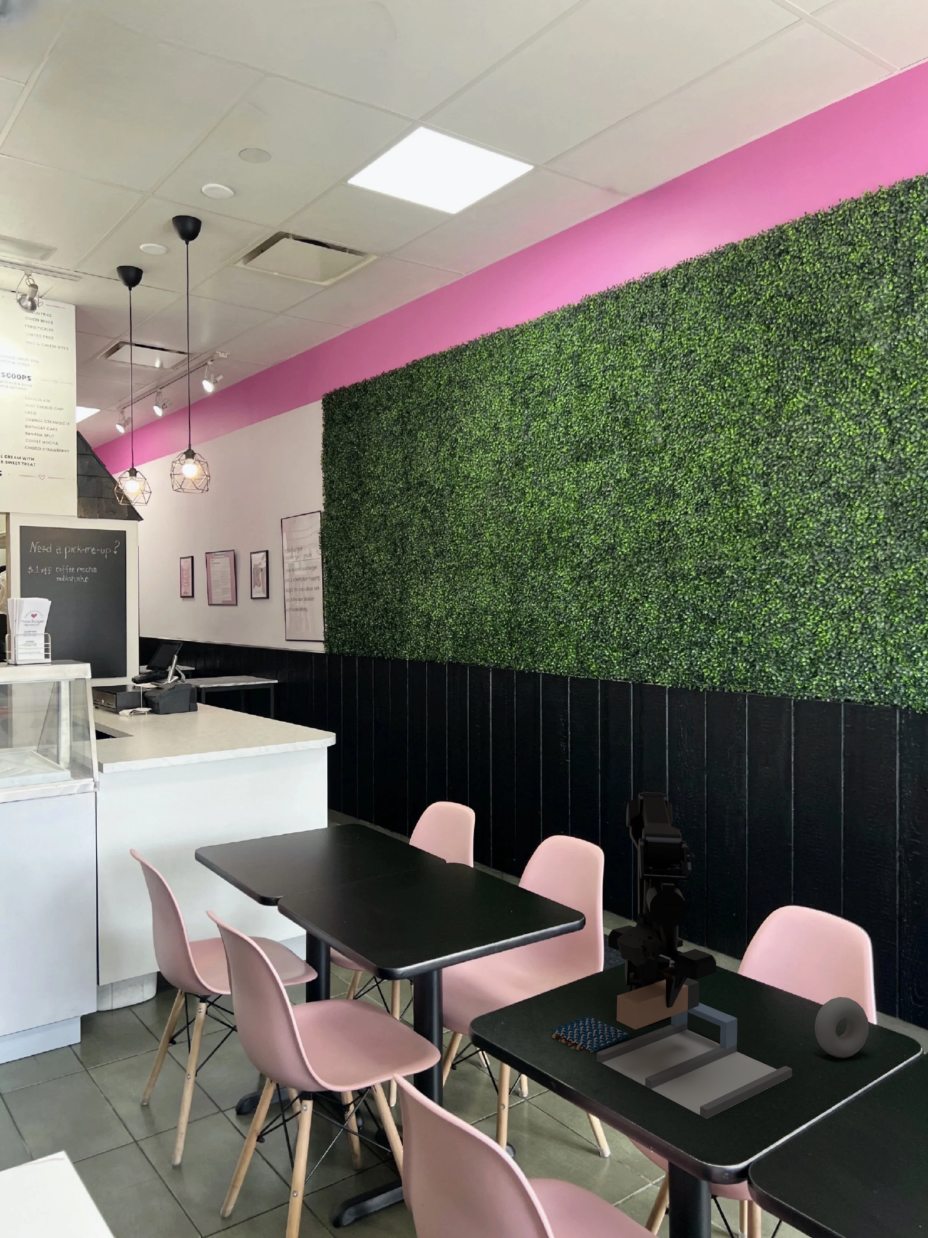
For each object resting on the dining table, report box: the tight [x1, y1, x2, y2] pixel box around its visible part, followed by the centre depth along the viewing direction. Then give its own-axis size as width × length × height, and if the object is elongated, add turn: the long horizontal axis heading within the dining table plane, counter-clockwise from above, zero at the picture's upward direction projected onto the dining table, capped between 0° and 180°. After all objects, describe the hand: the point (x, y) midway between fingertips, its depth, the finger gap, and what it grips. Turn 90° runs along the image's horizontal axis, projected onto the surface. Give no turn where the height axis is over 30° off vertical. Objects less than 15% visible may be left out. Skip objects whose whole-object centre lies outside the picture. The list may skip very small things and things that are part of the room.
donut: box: [814, 996, 870, 1059], centre depth 153 cm, size 10×4×10 cm, turn 106°
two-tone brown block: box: [616, 978, 700, 1030], centre depth 148 cm, size 4×16×4 cm, turn 128°
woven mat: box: [551, 1016, 630, 1053], centre depth 157 cm, size 10×11×2 cm
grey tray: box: [596, 1002, 793, 1120], centre depth 146 cm, size 22×22×6 cm
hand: (659, 1002), depth 148 cm, fingers closed on two-tone brown block, 4 cm apart
